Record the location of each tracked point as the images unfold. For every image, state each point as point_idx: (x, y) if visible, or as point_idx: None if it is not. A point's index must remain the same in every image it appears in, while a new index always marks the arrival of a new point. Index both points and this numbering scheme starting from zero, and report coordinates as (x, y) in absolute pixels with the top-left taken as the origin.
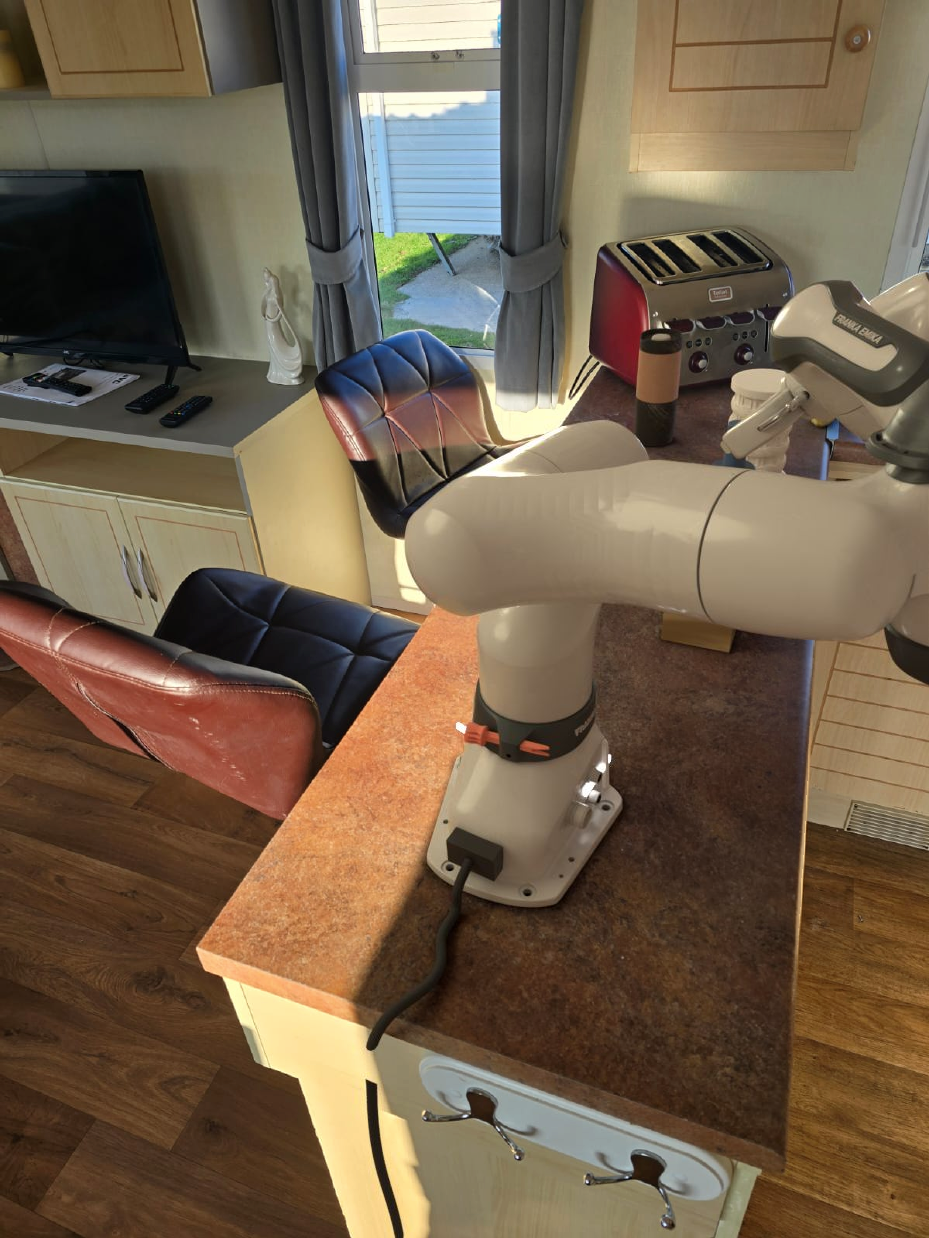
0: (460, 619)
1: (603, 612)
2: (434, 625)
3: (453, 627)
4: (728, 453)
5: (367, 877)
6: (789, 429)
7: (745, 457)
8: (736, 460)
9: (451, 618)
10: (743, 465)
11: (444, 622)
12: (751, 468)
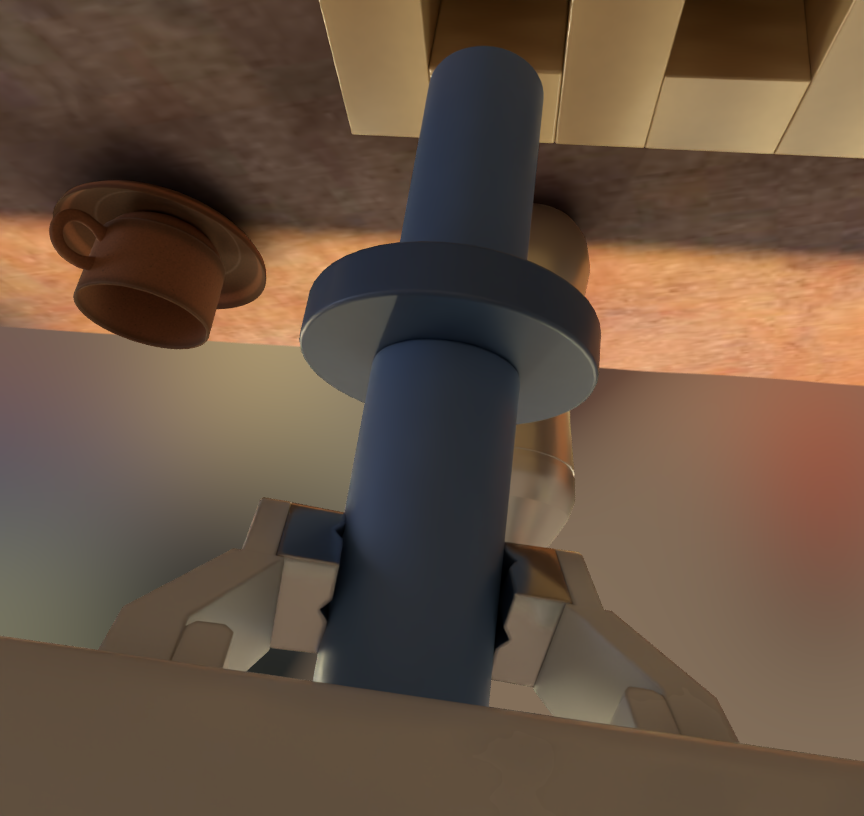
0: (824, 361)
1: (813, 160)
2: (844, 382)
3: (856, 364)
4: (580, 555)
5: None
6: None
7: (446, 430)
8: (511, 451)
9: (819, 369)
10: (471, 377)
11: (834, 374)
12: (431, 312)
